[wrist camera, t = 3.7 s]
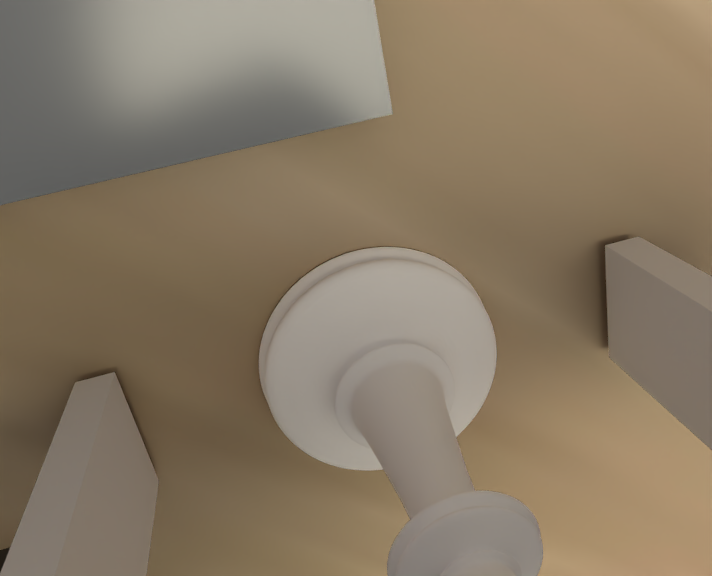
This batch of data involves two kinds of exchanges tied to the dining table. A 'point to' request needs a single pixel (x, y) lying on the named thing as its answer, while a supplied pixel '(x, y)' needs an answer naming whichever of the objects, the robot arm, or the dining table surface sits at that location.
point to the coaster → (174, 82)
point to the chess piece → (398, 401)
